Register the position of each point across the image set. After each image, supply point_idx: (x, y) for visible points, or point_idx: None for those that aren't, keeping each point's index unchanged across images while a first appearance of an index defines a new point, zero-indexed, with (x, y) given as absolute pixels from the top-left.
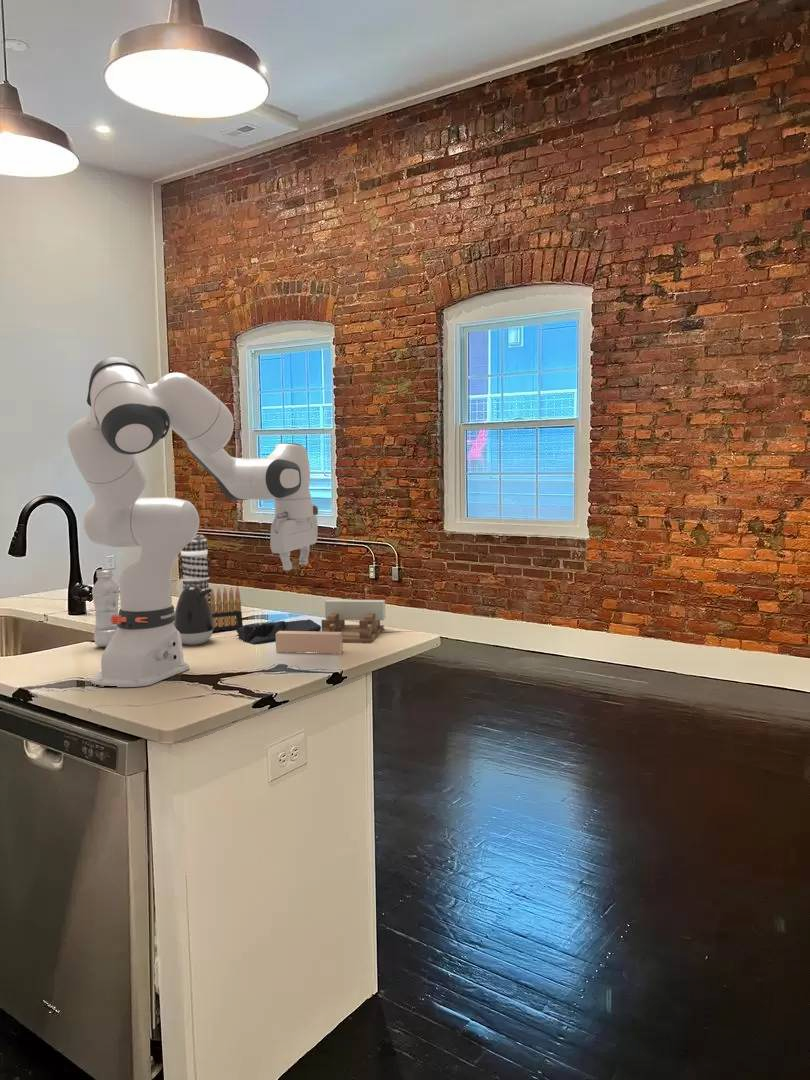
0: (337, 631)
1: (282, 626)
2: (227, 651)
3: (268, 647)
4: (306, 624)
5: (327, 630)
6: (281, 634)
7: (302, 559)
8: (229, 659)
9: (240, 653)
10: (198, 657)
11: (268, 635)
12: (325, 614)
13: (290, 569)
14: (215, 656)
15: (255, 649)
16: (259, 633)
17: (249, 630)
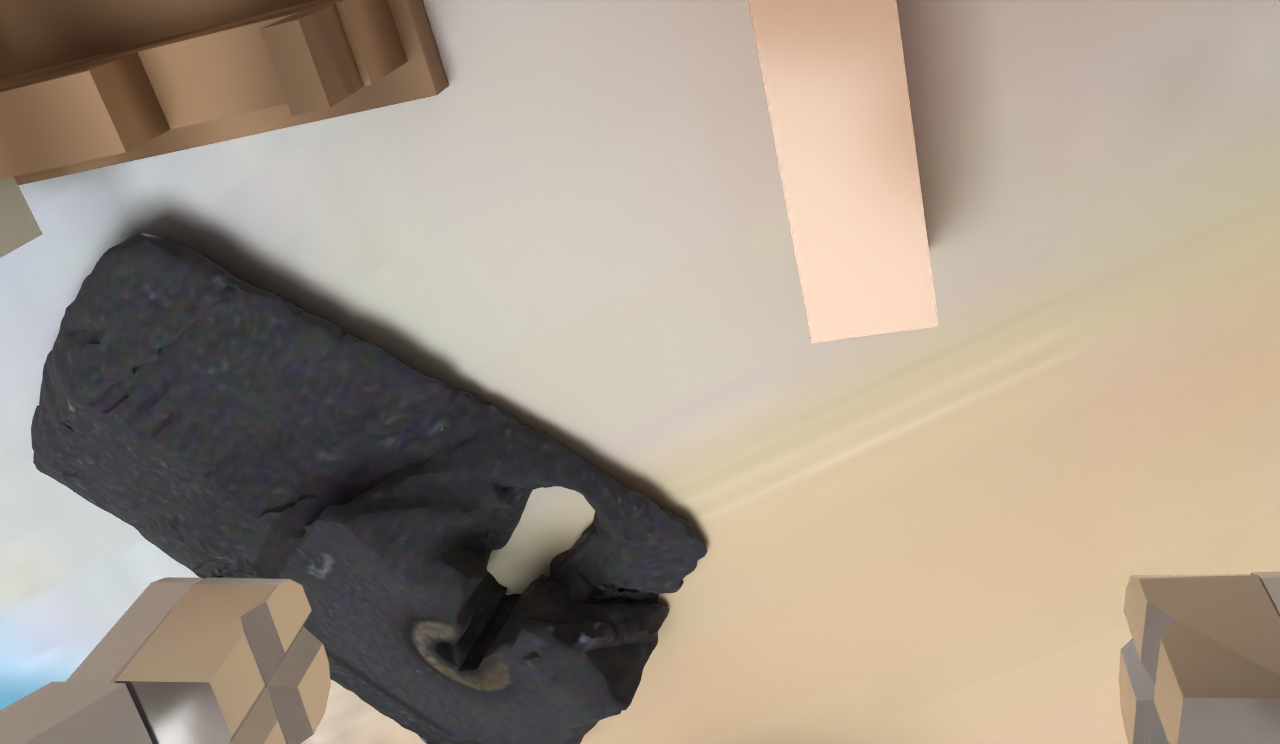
0: (128, 42)
1: (389, 492)
2: (969, 613)
3: (766, 395)
4: (182, 365)
5: (359, 14)
6: (928, 263)
7: (249, 711)
8: (1228, 494)
9: (1013, 504)
10: None
11: (499, 533)
12: (8, 252)
13: (1206, 575)
14: None
15: (858, 458)
16: (531, 597)
17: (616, 659)
